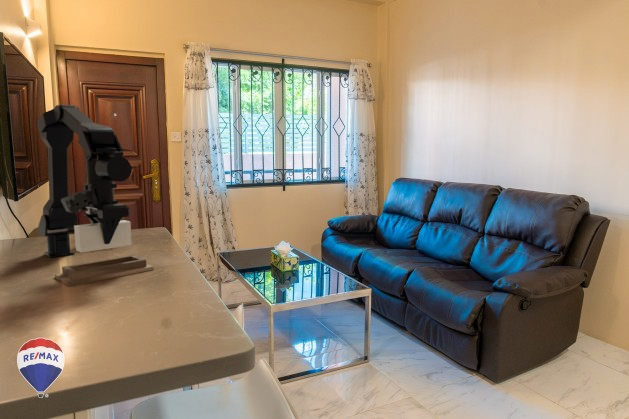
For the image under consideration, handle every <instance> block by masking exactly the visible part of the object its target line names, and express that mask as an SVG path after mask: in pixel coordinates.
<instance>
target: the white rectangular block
mask: <svg viewBox="0 0 629 419" xmlns="http://www.w3.org/2000/svg"><path fill="white" fill-rule="evenodd" d="M131 227H132V222H131V221H129V220H126V219H125V220H123V219H122V220H121V221H120V222H119V224H118V226H117V228H116V230H115V232H114V235H113V237H112V239H111V242H110V243H109V244H105V243H104V240H103V235H102V231H101V226H100V223H93V224H91V223H86V224H85V223H84V224H77V225H75V226H74V231H75V233H74V240H75V241H74V244H75V245H74V246H75V251H77V252H79V253H80V254H81V253H87V252H93V251H94V252H95V251H101V250H102V251H103V250H108V249H114V248H121V247H127V246H128V247H129V246H132V244H133V243H132V228H131Z"/></svg>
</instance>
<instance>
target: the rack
mask: <svg viewBox="0 0 629 419" xmlns="http://www.w3.org/2000/svg"><path fill="white" fill-rule="evenodd" d="M154 270H155V266H153V265H151V264H149V263H147V259H146V258H143V257H140V256H138V255H135V254H131V255H130V254H129V255H125V256H119V257H114V258H113V257H112V258H108V259H102V260H95V261H90V262H89V261H88V262H84V263H83V262H82V263H77V264H73V265H72V264H71V265H64V266H62V267H61V272H60V273H59V272H58V273H55V274H54V277H55V279H57V280H58V281H60V282H62V283H63V284H64V285H66V286H67V287H72V286H77V285H83V284H88V283H93V282H98V281H104V280H109V279H114V278H118V277H124V276H127V275H128V276H129V275H132V274H137V273H138V274H139V273H143V272H149V271H154Z"/></svg>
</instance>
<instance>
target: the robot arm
mask: <svg viewBox="0 0 629 419" xmlns="http://www.w3.org/2000/svg"><path fill="white" fill-rule="evenodd" d="M37 130H38V132H39V137H40V139H41V141H43V143H44V144H45V146H46V147H47V165H48V166H47V169H48V195H49V196H48V200H47V202H46V203H45V204H44V206H43V207H42V215H41V216H40V220H39V222H38V225H37V230H38V234H39V236H42V237H46V245H47V246H46V247H47V251H45V252H43V254H44V255H45V256H46V257H49V258H56V257H62V256H69V255H75V251H73V250H71V242H70V241H71V238H70V233H71V234H72V233H73V234H75V231H74V226H75V225H78V216H77V212H80V213H81V212H82V216H84V217H85V218H87V219H88V220H89V221H90V220H91V221H90V223H91V222H92V224H93V223H100V226H101V231H102V235H103V240H104V243H105V244H109V243H110V242H111V239H112V237H113V235H114V232H115V230H116V228H117V226H118V224H119V222H120V220H121V218H122V219H123V217H124V218H127V217H128V218H129V217H131V209H130V207H129V206H127V205H126V204H125V203H119V202H118V201H119V200H117V199H115V189H117V188H118V184H117V183H115V182H118V183H122V182H124V181H127V180H128V179H129V178H130V176H131V175H132V171H133V170H132V168H133V167H132V165H131V163H130V161H129V160H128V159H127V158H125V157H124V151H123V150H124V148H123V146H122V144H121V142H120V140H119V139H118V136H117V133H116V132H115V131H114V130H113V128H111V127H110V126H107V125H104V124H100V123H96V122H94V121H93V120H92V119H91V118H89V117H88V116H87V115H86V114H84V113H83V112H82V111H81V110H80V108H79V107H78V106H76V105H72V104H57V105H55V106H54V108H53V109H50V110H47V111H45V112H43V113H42V114H41V115H40V117H39V118H38V120H37ZM74 135H77V136H78V138H77V139H78V140H77V143H78V144H79V146H80V147H81V149H82V150H83V152H84V153H85V155H84V156H83V160H84V161H85V166H86V183H84V184H83V185H82V186H83V188H82V189H83V190H80V191H78V192H75V193H73V194H70V195H69V170H68V164H69V163H68V148H69V147H70V145H71V144H72V142H74V137H75V136H74ZM84 211H85V213H83V212H84Z"/></svg>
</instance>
